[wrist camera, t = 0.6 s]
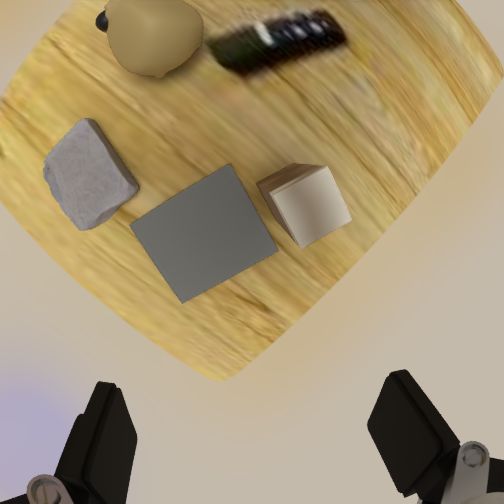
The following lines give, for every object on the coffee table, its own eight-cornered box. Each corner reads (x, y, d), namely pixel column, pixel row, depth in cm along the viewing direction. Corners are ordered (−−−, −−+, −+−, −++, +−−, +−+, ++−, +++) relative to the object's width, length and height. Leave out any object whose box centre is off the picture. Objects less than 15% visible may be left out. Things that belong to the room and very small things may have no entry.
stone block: (99, 231, 36) (148, 185, 33) (79, 244, 31) (130, 194, 28) (54, 164, 32) (98, 112, 30) (31, 170, 28) (75, 112, 25)
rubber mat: (229, 163, 33) (229, 163, 33) (278, 249, 37) (278, 250, 36) (130, 224, 34) (129, 225, 33) (182, 302, 38) (182, 303, 37)
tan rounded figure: (162, -4, 25) (145, -48, 15) (221, 48, 29) (222, 8, 18) (101, 44, 26) (66, 13, 16) (157, 100, 30) (131, 77, 20)
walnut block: (292, 163, 34) (327, 166, 22) (311, 199, 35) (352, 220, 24) (255, 183, 34) (273, 195, 23) (275, 219, 36) (301, 249, 24)
